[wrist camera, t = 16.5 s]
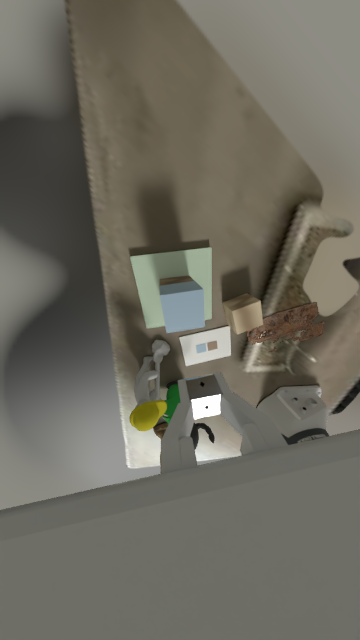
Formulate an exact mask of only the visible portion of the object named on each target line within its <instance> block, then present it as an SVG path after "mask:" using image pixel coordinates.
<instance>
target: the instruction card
mask: <svg viewBox="0 0 360 640" xmlns="http://www.w3.org/2000/svg"><path fill="white" fill-rule="evenodd" d="M179 338H180V342H181V346H182V351H183V355H184V359H185V364H186V366H188V365H193V364H197V363H201V362H205V361H209V360H214V359H218V358H222V357H226V356H231V342H230V326H225V327H221V328H217V329H212V330H208V331H204V332H199V333H195V334H191V335H186V336H182V337H179Z"/></svg>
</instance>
